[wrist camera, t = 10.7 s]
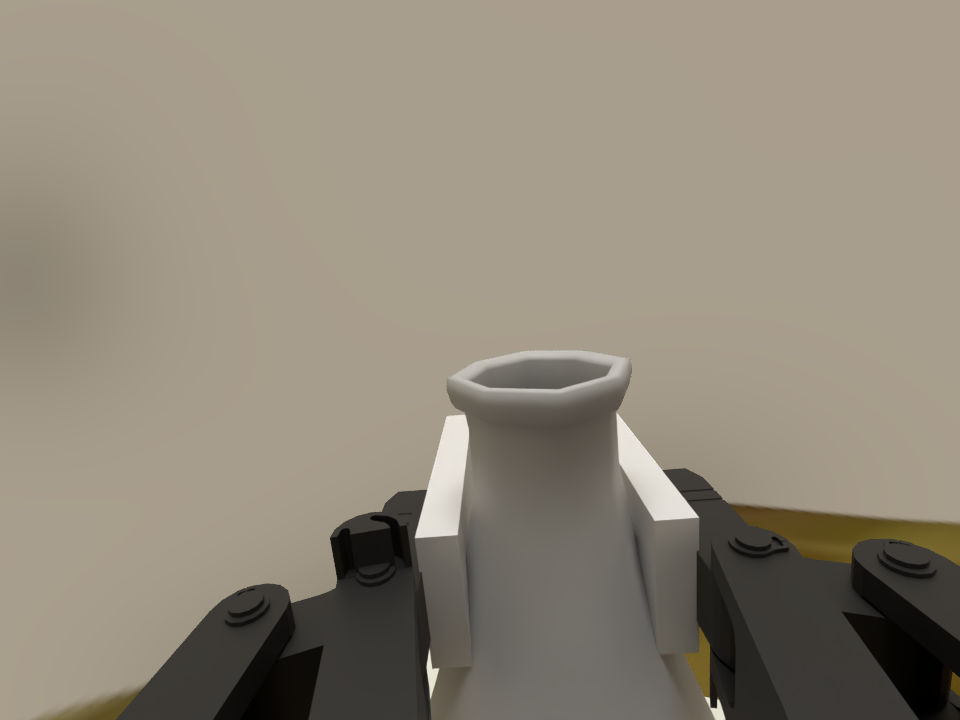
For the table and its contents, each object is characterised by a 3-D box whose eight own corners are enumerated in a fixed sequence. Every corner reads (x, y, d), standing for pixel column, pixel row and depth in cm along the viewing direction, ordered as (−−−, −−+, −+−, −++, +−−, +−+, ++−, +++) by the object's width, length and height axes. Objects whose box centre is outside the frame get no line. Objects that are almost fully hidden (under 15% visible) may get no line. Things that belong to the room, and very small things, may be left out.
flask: (530, 629, 16) (505, 327, 14) (789, 766, 11) (810, 337, 9) (339, 834, 11) (252, 397, 9) (672, 1251, 6) (660, 507, 4)
